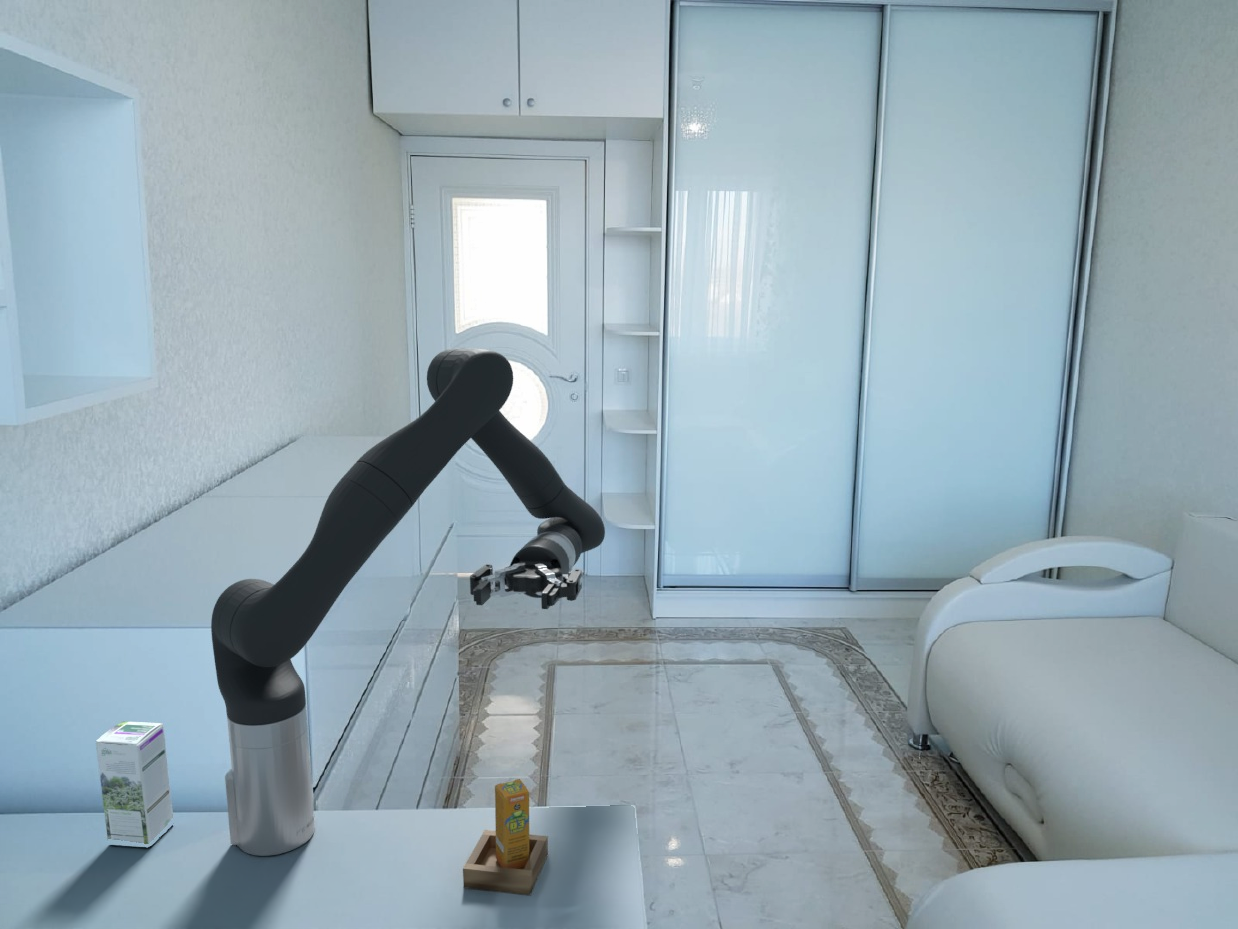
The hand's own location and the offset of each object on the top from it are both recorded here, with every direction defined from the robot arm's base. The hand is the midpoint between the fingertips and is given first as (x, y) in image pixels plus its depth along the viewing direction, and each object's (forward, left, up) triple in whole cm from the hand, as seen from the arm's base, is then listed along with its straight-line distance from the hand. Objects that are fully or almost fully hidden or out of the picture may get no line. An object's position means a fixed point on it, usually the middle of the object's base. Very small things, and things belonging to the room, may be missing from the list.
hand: (511, 600), depth 118 cm
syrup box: (-46, -12, -30) cm, 56 cm away
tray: (+2, -11, -30) cm, 32 cm away
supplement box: (+3, -11, -29) cm, 31 cm away
